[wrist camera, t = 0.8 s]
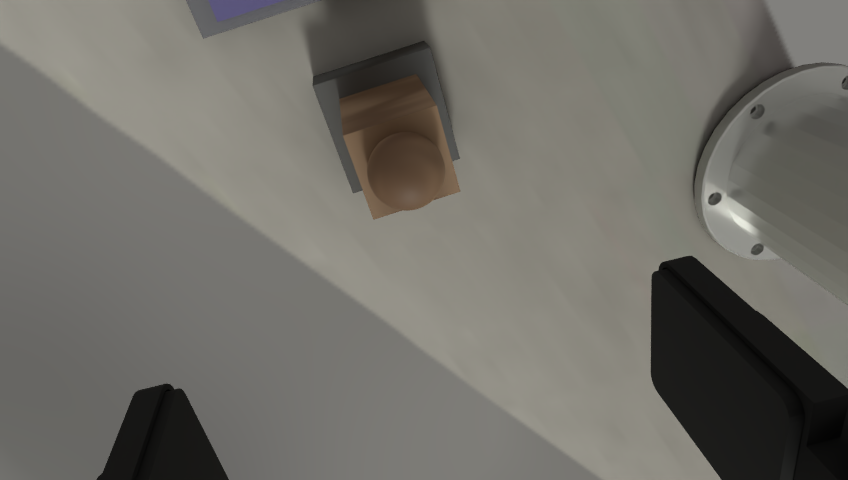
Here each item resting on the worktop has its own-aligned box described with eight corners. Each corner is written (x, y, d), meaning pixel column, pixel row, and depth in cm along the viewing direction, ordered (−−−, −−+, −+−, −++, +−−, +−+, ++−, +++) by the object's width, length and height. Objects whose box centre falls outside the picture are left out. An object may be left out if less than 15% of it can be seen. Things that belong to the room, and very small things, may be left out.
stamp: (424, 40, 31) (466, 87, 22) (452, 146, 34) (501, 227, 24) (313, 76, 31) (309, 139, 22) (351, 179, 34) (362, 272, 24)
